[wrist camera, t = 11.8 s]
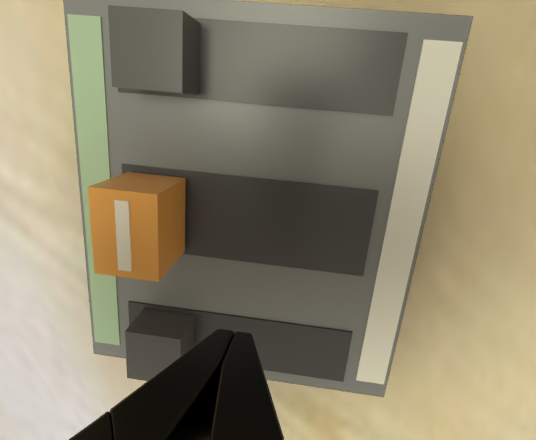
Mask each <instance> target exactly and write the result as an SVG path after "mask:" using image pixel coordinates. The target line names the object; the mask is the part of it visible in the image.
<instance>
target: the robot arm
mask: <svg viewBox="0 0 536 440" xmlns="http://www.w3.org/2000/svg"><path fill="white" fill-rule="evenodd" d="M69 440H284V437H283V433H282V430H281V427H280V423H279V420H278V417H277V414H276V410H275V407H274V404H273V401H272V397H271V394H270V391H269V388H268V384H267V381H266V378H265V375H264V371H263V368H262V365H261V362H260V358H259V355H258V352H257V349H256V345H255V342H254V339H253V336H252V334H251V333H247V332H240V331H237V332H235V333H234V331H232V330H226V329H217V330H215V331H214V332H213V333H211V334H210V335H209V336H207V337H206V338H205V339H203V340H202V341H201V342H199V343H198V344H197V345H195V346H194V347H193V348H191V349H190V350H189V351H187V352H186V353H185V354H183V355H182V356H181V357H179V358H178V359H177V360H175V361H174V362H173V363H171V364H170V365H169V366H167V367H166V368H165V369H163V370H162V371H161V372H159V373H158V374H157V375H155V376H154V377H153V378H151V379H150V380H149V381H147V382H146V383H145V384H143V385H142V386H141V387H139V388H138V389H137V390H135V391H134V392H133V393H131V394H130V395H129V396H127V397H126V398H125V399H123V400H122V401H121V402H119V403H118V404H117V405H115V406H114V407H113V408H111V410H110V412H106V413H105V414H103V415H102V416H101V417H99V418H98V419H97V420H95V421H94V422H93V423H91V424H90V425H88V426H87V427H86V428H84V429H83V430H81V431H80V432H79V433H77V434H76V435H74V436H73V437H72V438H70V439H69Z"/></svg>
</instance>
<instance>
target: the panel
mask: <svg viewBox="0 0 536 440" xmlns="http://www.w3.org/2000/svg"><path fill="white" fill-rule="evenodd" d="M63 3H64V14H65V26H66V37H67V49H68V60H69V72H70V83H71V95H72V107H73V118H74V130H75V141H76V153H77V164H78V176H79V187H80V199H81V210H82V222H83V233H84V245H85V256H86V268H87V279H88V291H89V302H90V314H91V326H92V337H93V349H94V354H100V355H106V356H113V357H120V358H126V362H127V378H132V379H138V380H145V381H149V380H150V379H151V378H153V377H154V376H155V375H157V374H158V373H159V372H161V371H162V370H163V369H165V368H166V367H167V366H169V365H170V364H171V363H173V362H174V361H175V360H177V359H178V358H179V357H181V356H182V355H183V354H185V353H186V352H187V351H189V350H190V349H191V348H193V347H194V346H195V345H197V344H198V343H199V342H201V341H202V340H203V339H205V338H206V337H207V336H209V335H210V334H211V333H213V332H214V331H215V330H217V329H226V330H232V331H234V333H235V332H237V331H240V332H247V333H251V334H252V336H253V339H254V342H255V345H256V349H257V352H258V355H259V358H260V362H261V365H262V368H263V371H264V375H265V378H266V380H273V381H279V382H286V383H292V384H299V385H306V386H312V387H319V388H326V389H332V390H339V391H346V392H352V393H359V394H366V395H372V396H379V397H384V394H385V390H386V386H387V382H388V377H389V373H390V369H391V365H392V360H393V356H394V352H395V347H396V343H397V339H398V335H399V330H400V326H401V322H402V318H403V313H404V309H405V305H406V301H407V296H408V292H409V288H410V284H411V279H412V275H413V271H414V266H415V262H416V258H417V254H418V249H419V245H420V241H421V237H422V232H423V228H424V224H425V220H426V215H427V211H428V207H429V202H430V198H431V194H432V190H433V185H434V181H435V177H436V173H437V168H438V164H439V160H440V156H441V151H442V147H443V143H444V139H445V134H446V130H447V126H448V121H449V117H450V113H451V109H452V104H453V100H454V96H455V92H456V87H457V83H458V79H459V75H460V70H461V66H462V62H463V58H464V53H465V49H466V45H467V40H468V36H469V32H470V28H471V23H472V19H473V16H462V15H447V14H431V13H416V12H401V11H385V10H370V9H354V8H339V7H324V6H308V5H293V4H278V3H262V2H247V1H232V0H63ZM126 172H135V173H144V174H154V175H163V176H172V177H182V178H186V187H185V252H184V253H183V254H182V255H181V256H180V257H179V259H178V260H177V261H176V262H175V263H174V265H173V266H172V267H171V268H170V269H169V270H168V272H167V273H166V274H165V275H164V276H163V277H162V279H161V280H160V281H159V282H156V281H148V280H141V279H133V278H126V277H118V276H110V275H103V274H95V273H94V261H93V249H92V236H91V224H90V211H89V198H88V187H89V186H91V185H94V184H97V183H99V182H102V181H105V180H107V179H110V178H113V177H115V176H118V175H121V174H124V173H126Z"/></svg>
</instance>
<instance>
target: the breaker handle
mask: <svg viewBox="0 0 536 440" xmlns="http://www.w3.org/2000/svg"><path fill="white" fill-rule="evenodd" d="M185 187H186V178H182V177H172V176H163V175H154V174H144V173H135V172H126V173H124V174H121V175H118V176H115V177H113V178H110V179H107V180H105V181H102V182H99V183H97V184H94V185H91V186H89V187H88V198H89V211H90V224H91V236H92V249H93V261H94V273H95V274H103V275H110V276H118V277H126V278H133V279H141V280H148V281H156V282H159V281H160V280H161V279H162V277H163V276H164V275H165V274H166V273H167V272H168V270H169V269H170V268H171V267H172V266H173V265H174V263H175V262H176V261H177V260H178V259H179V257H180V256H181V255H182V254H183V253H184V252H185Z"/></svg>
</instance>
